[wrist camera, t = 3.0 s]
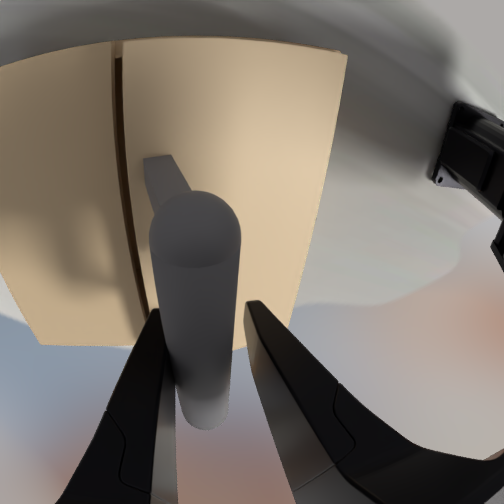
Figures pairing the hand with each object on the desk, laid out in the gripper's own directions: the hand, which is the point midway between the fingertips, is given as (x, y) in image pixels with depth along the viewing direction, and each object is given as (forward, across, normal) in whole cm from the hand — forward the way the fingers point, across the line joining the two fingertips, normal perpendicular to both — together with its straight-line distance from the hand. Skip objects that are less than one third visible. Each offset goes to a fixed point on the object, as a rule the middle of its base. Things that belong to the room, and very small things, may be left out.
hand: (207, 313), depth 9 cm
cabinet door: (+4, -1, 0) cm, 4 cm away
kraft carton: (+10, +2, 0) cm, 10 cm away
